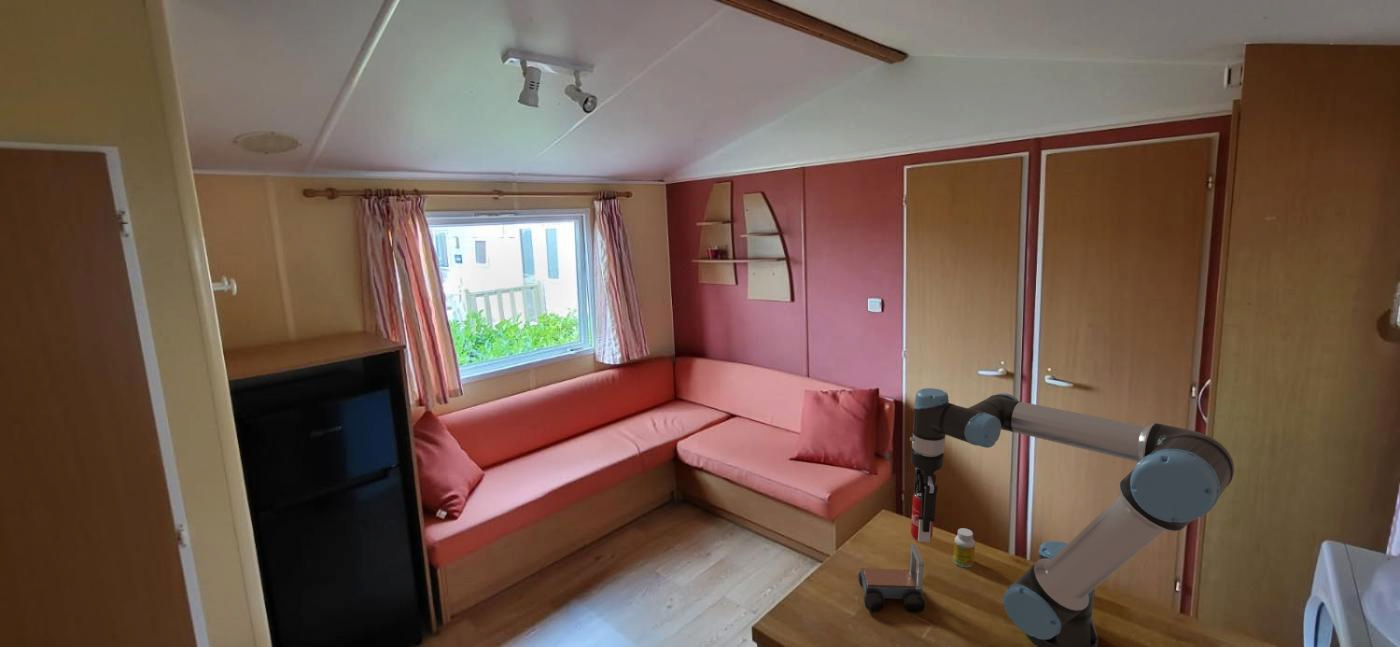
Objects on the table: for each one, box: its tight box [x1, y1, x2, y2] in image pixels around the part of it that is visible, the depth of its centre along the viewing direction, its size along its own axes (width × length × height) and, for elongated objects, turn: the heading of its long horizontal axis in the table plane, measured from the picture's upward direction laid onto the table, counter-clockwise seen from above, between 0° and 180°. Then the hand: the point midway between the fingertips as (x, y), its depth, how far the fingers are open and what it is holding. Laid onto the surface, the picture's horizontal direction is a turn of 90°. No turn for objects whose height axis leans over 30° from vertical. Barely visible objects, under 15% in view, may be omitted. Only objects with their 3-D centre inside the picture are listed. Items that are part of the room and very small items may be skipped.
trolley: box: [857, 543, 926, 614], centre depth 159 cm, size 15×11×14 cm
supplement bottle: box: [952, 527, 976, 568], centre depth 173 cm, size 5×5×10 cm
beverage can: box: [910, 490, 934, 542], centre depth 154 cm, size 5×5×12 cm
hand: (921, 534), depth 155 cm, fingers closed on beverage can, 5 cm apart
